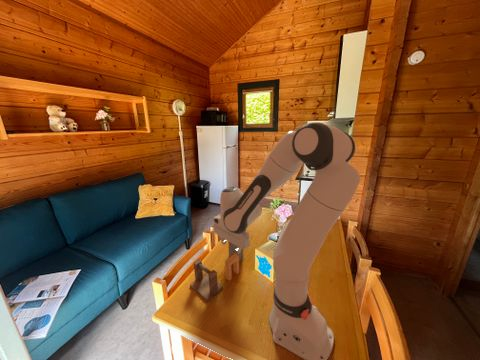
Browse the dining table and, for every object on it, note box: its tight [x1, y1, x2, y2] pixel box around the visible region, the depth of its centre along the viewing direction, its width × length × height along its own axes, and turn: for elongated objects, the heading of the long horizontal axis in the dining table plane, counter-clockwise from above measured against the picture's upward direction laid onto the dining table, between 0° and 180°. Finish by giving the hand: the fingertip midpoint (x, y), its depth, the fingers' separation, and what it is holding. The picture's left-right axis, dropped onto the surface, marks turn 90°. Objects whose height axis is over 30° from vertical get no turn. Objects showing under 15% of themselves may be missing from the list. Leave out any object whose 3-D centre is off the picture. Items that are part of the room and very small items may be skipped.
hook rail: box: [189, 258, 224, 302], centre depth 89 cm, size 12×9×11 cm
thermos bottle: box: [227, 241, 244, 262], centre depth 106 cm, size 8×8×28 cm
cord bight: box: [224, 254, 240, 281], centre depth 96 cm, size 2×7×10 cm, turn 138°
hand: (230, 248), depth 93 cm, fingers open, 8 cm apart
